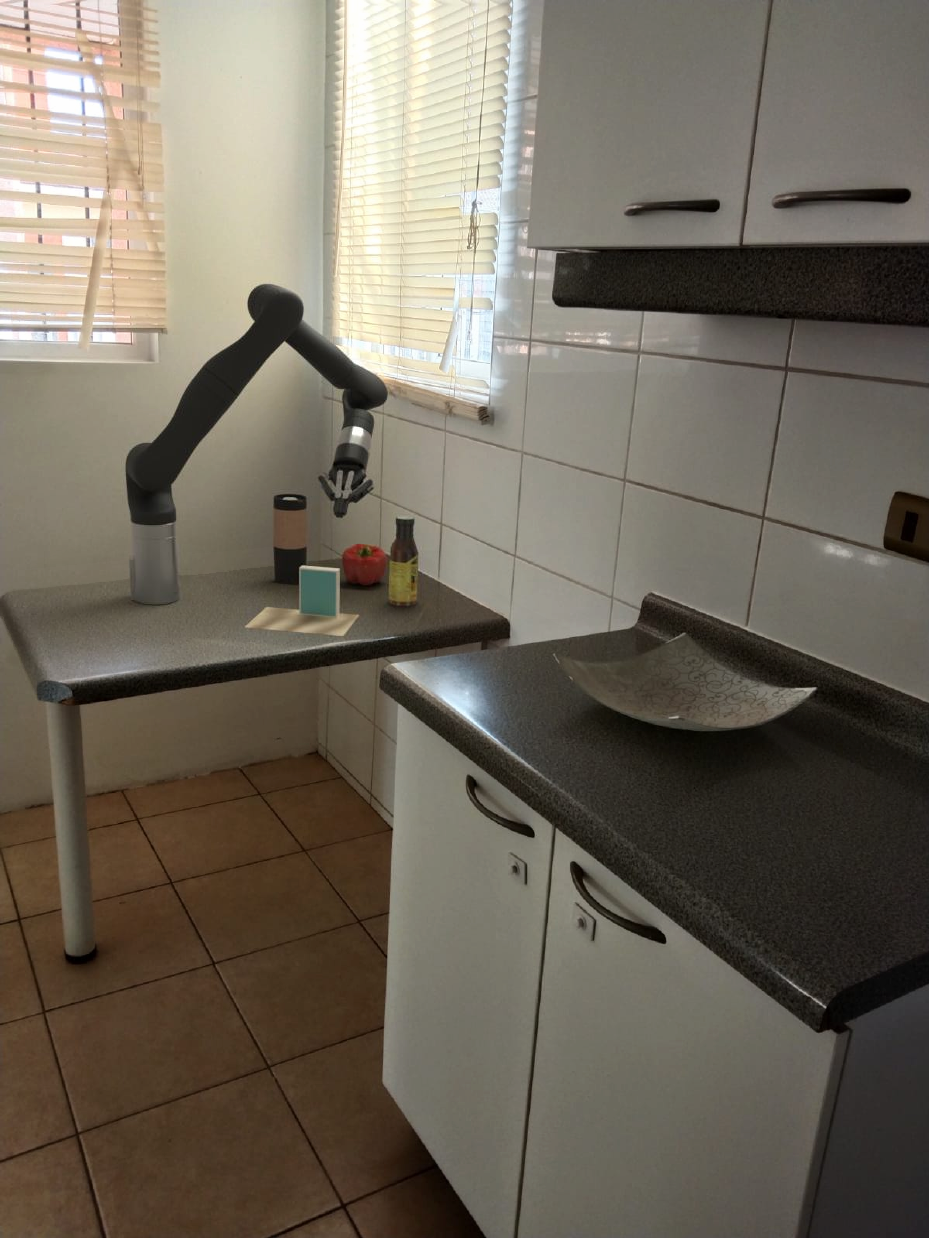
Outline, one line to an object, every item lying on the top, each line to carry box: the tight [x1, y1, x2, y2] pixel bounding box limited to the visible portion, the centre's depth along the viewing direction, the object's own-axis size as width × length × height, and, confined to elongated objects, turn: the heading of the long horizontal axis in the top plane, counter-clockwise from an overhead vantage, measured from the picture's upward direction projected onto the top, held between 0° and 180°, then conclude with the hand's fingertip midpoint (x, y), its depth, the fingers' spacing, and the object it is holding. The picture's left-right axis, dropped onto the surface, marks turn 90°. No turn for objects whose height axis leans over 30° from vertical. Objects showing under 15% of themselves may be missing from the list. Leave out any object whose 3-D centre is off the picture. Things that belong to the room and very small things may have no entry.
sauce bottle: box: [388, 515, 419, 607], centre depth 218 cm, size 7×6×20 cm
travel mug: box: [272, 493, 308, 586], centre depth 232 cm, size 8×8×20 cm
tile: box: [298, 565, 341, 618], centre depth 207 cm, size 8×2×10 cm, turn 83°
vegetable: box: [341, 543, 388, 586], centre depth 235 cm, size 11×10×10 cm
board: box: [244, 606, 360, 637], centre depth 204 cm, size 20×14×1 cm
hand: (339, 515), depth 219 cm, fingers closed
